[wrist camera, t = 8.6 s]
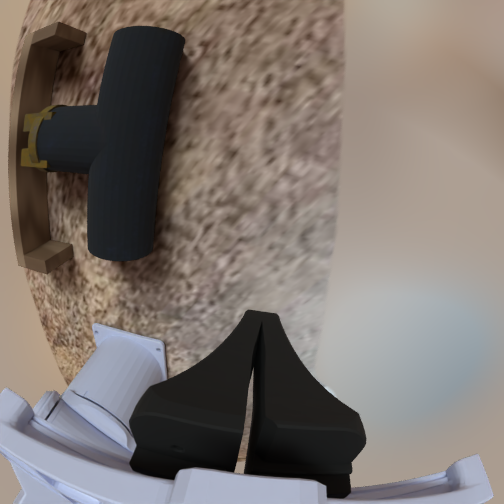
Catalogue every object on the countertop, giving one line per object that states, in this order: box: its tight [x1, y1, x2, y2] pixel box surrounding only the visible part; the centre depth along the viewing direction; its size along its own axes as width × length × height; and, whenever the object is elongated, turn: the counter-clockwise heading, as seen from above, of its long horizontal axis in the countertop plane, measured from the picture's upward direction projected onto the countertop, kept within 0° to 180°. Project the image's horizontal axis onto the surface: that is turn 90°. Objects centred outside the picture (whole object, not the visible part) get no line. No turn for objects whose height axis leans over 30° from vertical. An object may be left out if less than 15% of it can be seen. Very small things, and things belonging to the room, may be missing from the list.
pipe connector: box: [21, 26, 185, 261], centre depth 17 cm, size 12×5×15 cm
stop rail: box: [8, 22, 86, 274], centre depth 17 cm, size 20×4×4 cm, turn 173°
